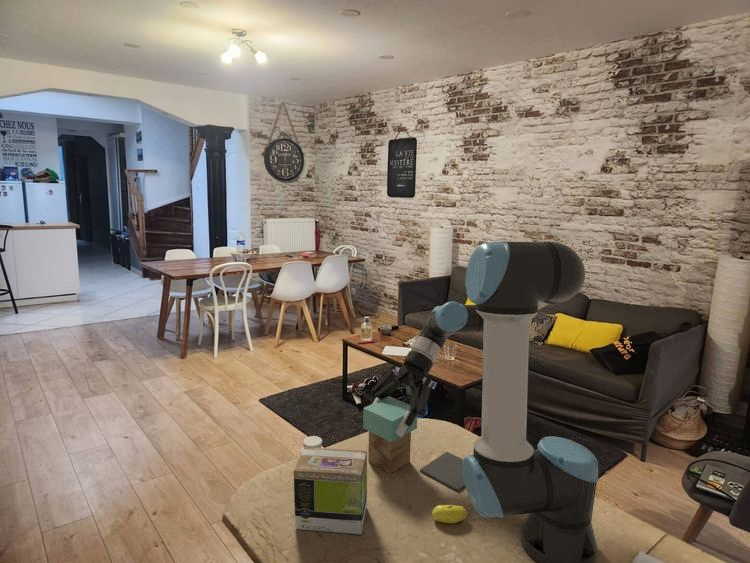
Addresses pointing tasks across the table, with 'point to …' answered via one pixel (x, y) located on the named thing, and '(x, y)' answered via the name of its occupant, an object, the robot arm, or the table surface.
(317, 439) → the pill bottle
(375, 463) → the walnut box
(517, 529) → the table surface
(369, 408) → the teal square block
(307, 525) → the tea box
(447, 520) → the yellow oblong rounded piece
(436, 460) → the rubber mat
